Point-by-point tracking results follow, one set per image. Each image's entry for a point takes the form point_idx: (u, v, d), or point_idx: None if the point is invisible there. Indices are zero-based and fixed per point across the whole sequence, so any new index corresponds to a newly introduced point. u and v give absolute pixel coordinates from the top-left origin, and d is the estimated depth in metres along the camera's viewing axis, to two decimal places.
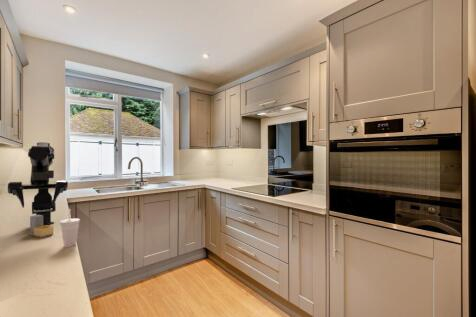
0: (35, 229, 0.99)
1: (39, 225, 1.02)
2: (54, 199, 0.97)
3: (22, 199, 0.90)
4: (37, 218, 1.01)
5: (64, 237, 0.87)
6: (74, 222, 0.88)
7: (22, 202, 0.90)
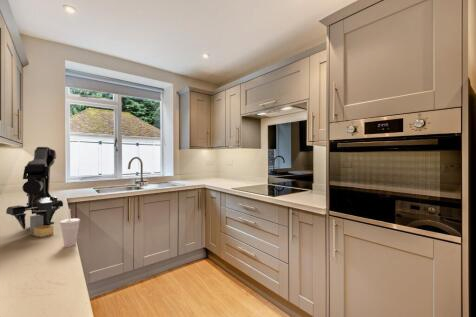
0: (35, 229, 0.99)
1: (39, 225, 1.02)
2: (50, 218, 1.07)
3: (24, 222, 0.98)
4: (37, 218, 1.01)
5: (64, 237, 0.87)
6: (74, 222, 0.88)
7: (24, 225, 0.98)
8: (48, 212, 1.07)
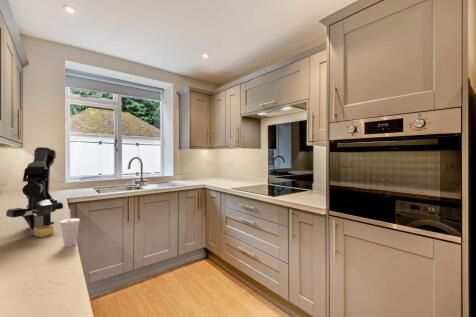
0: (35, 229, 0.99)
1: (39, 225, 1.02)
2: (43, 222, 1.04)
3: (32, 223, 1.00)
4: (37, 218, 1.01)
5: (64, 237, 0.87)
6: (74, 222, 0.88)
7: (32, 225, 1.00)
8: None
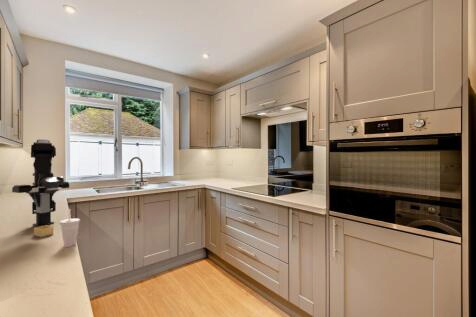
0: (35, 229, 0.99)
1: (45, 203, 0.99)
2: None
3: (38, 200, 0.98)
4: (43, 196, 0.99)
5: (64, 237, 0.87)
6: (74, 222, 0.88)
7: (38, 203, 0.98)
8: None
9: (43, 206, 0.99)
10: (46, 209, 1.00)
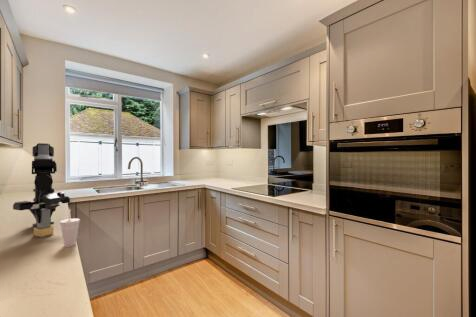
0: (35, 229, 0.99)
1: (46, 218, 1.00)
2: (50, 216, 1.02)
3: (39, 216, 0.98)
4: (44, 211, 0.99)
5: (64, 237, 0.87)
6: (74, 222, 0.88)
7: (39, 219, 0.98)
8: None
9: (44, 222, 0.99)
10: (47, 225, 1.00)
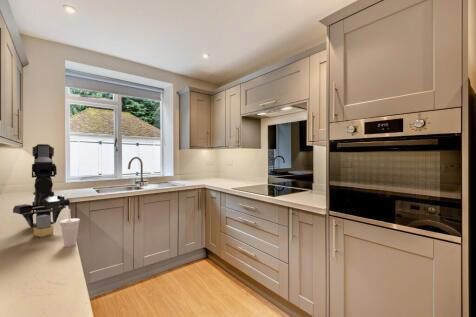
0: (35, 229, 0.99)
1: (46, 225, 1.00)
2: (56, 218, 1.04)
3: (32, 221, 0.96)
4: (44, 218, 0.99)
5: (64, 237, 0.87)
6: (74, 222, 0.88)
7: (32, 224, 0.96)
8: (54, 211, 1.05)
9: (44, 228, 0.99)
10: None
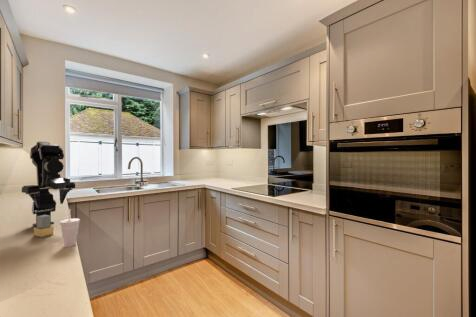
0: (35, 229, 0.99)
1: (46, 225, 1.00)
2: (63, 199, 1.09)
3: (38, 201, 1.00)
4: (44, 218, 0.99)
5: (64, 237, 0.87)
6: (74, 222, 0.88)
7: (38, 204, 1.00)
8: (61, 193, 1.10)
9: (44, 228, 0.99)
10: None
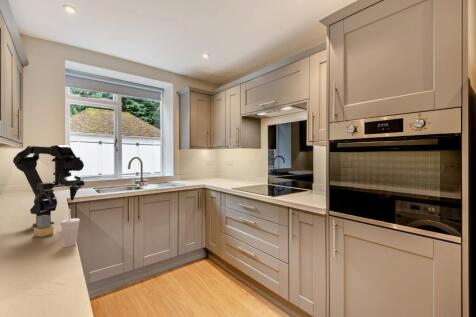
0: (35, 229, 0.99)
1: (46, 225, 1.00)
2: (73, 196, 1.18)
3: (52, 197, 1.09)
4: (44, 218, 0.99)
5: (64, 237, 0.87)
6: (74, 222, 0.88)
7: (52, 200, 1.09)
8: (71, 190, 1.19)
9: (44, 228, 0.99)
10: None
